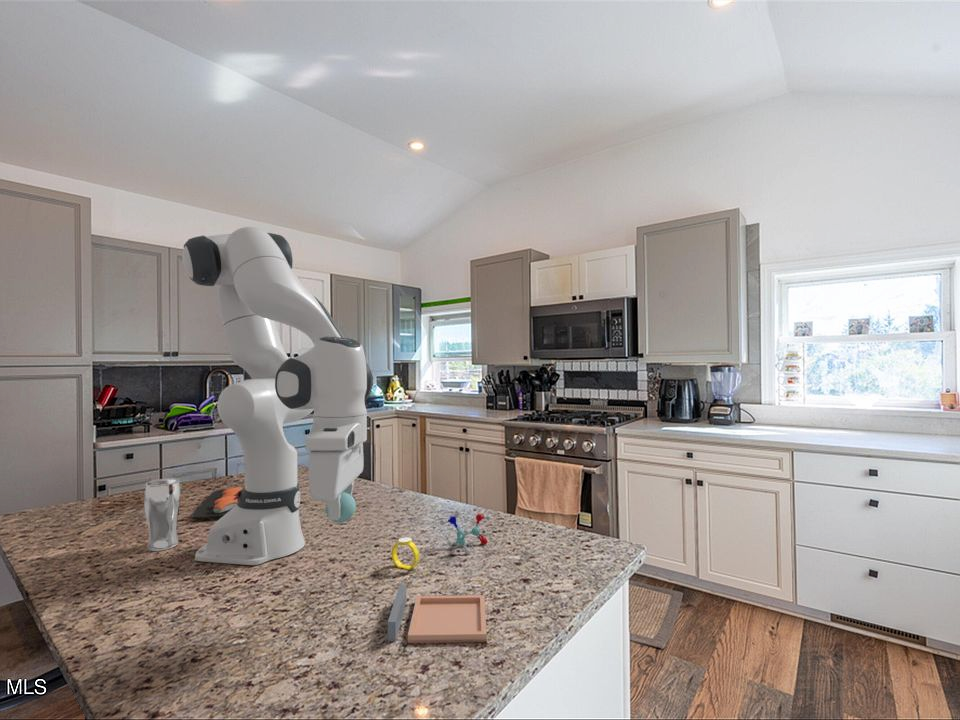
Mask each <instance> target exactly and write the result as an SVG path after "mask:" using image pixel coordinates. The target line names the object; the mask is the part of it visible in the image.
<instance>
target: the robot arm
mask: <svg viewBox="0 0 960 720" xmlns="http://www.w3.org/2000/svg"><path fill="white" fill-rule="evenodd" d="M181 260H182V265H183V268H184V269H183V270H185V273H186V274H187V275H188V276H189V279H190V281H192V282H193V283H195V284H196V285H198V286H204V287H214V286H218V288H217V295H216V297H217V305H218V306H217V307H218V314H219V317H220V323H221V327H222V330H223V333H224V338H225V341H226V346H227V348H228V349H227V350H228V351H229V356H230V358H231V360H232V361H233V362H234V364H236V365H237V366H238V367H240V368H242V369H243V370H244V371H245V372H246V374H248V375H249V377H250V378H249V379H244V380H241V381H238V382H235V383H233V384H230V385H228V386H227V387H225V388H224V389H223V390H222V391H221V393H220V394H219V396H218V400H217V407H216V408H217V409H216V410H217V413H218V416H219V418H220V420H221V422H223V423H222V424H224V425H225V426H226V427H228V428H229V429H230V430H232V431H233V432H234V434H235V436H236V438H237V439H238V441H239V444H240V446H241V449H242V455H243V459H244V460H243V462H244V486H243V487H242V488H243V489H242V490H240V491H238V492H237V494H235V495H233V496H235V497H234V499H233V500H236V499H237V502H238V503H237V506H235V507H234V508H233V509H231V510H230V511H229V512H228V513H226V514H225V515H224V516H223V517H219V519H218V520H217V521H215V522H214V524H213V525H212V526H211V527H210V530H209V532H208V535H207V541H206V543H204V544H203V545H202V546H200V547H199V548H198V550H196V552H195V554H194V560H195V561H197V562H205V563H206V562H207V563H219V564H220V563H221V564H233V565H244V566H245V565H247V566H258V565H261V564H263V563H266V562H269V561H272V560H276V559H279V558H284V557H287V556H289V555H292V554H295V553H296V552H298V551H300V550H302V549H303V548H304V546H305V545H306V541H305V537H304V534H303V531H302V525H301V519H300V511H299V509H300V504H301V503H300V501H301V492H300V491H301V490H300V484H299V482H298V451H297V449H296V447H295V446H293V445H292V444H291V443H289V442H288V440H287V438H286V436H285V433H284V428H283V425H286V424H291V423H295V422H298V421H300V420H301V419H303V418H306V417H307V416H309V415H310V414H311V413H313V416H312V425H311V426H312V427H311V429H310V431H309V433H308V434H307V435H306V437H305V442H304V444H305V445H304V448H305V451H308V452H309V453H308V463H307V464H308V484H309V485H308V486H309V493H310V497H311V498H312V501H314V502H325V505H326V504H327V507H328V516H327V517H328V519H329V520H330V521H332V520H338V519H339V518H340V517H341V515H342V506H340V498H341V493H342V492H345V493H348V494H350V495H351V496H352V497H353V491H354V486H355V480H356V479H357V478H358V477H359V476H360V474H362V473H363V472H364V464H365V463H364V461H365V460H364V459H365V458H364V443H365V442H366V441H367V439H368V426H367V425H368V423H367V422H368V421H367V418H368V410H367V408H366V401H367V400H368V397H369V396H370V395H371V392H372V390H373V386H374V377H373V372H372V370H371V368H370V366H369V364H368V363H367V360H366V355H365V351H364V347H363V345H362V343H360V342H359V341H357V340H355V339H353V338H348V337H346V336H345V335H344V334H343V332H342V331H341V329H340V328H339V326H338V324H337V322H335V320H334V318H333V317H332V315H331V314H330V312H329V311H328V309H327V308H326V307H325V305H323V303H322V302H321V301H320V300H319V299H318V298H317V297H315V295H313V294H312V292H310V291H309V290H308V289H307V288H306V287H305V286H304V284H303V283H301V281H300V280H299V279H298V278H297V276H296V275H295V273H294V272H293V270H292V269H293V253H292V249H291V246H290V244H289V242H288V240H287V239H286V238H285V237H284V236H282V235H281V234H277V233H271V232H267V231H265V230H263V229H261V228H259V227H256V226H255V227H254V226H245V227H240V228H238V229H236V230H234V231H233V232H231V233H227V234H224V233H223V234H216V235H210V236H206V235H200V236H195V237H191V238H189V239H188V240H187V241H186V242H185V243H184V244H183V249H182V254H181ZM276 322H278V323H280V324H282V325H283V324H284V325H286V326H289V327H292V328H294V329H296V330H298V331H301V332H302V333H303V334H305V335H306V336H307V337H308V338H309V339H310V340H311V342H312V343H313V347H311V348H310V349H308V350H307V351H305V352H304V353H302V354H300V355H298V356H295V357H291V358H289V356H288V354H287V352H286V351H285V348H284V345H283V343H282V340H281V337H280V334H279V331H278V328H277V325H276Z"/></svg>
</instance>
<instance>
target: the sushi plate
mask: <svg viewBox="0 0 960 720" xmlns="http://www.w3.org/2000/svg"><path fill="white" fill-rule="evenodd" d="M242 489H243V487H239V486H238V487H237V486H236V487H230V488H224V489H223V488H222V489H217V490H214V491H213V492H212V493H210V495H209V496H208V497H207V498H206V499H205V500H204V501H203V502H202V504H200V506H199V507H198V508H197V509H196V510H195V511H194V513H192V518H194V519H217V518H219V519H220V518H222V517H223V516H224V515H225V514H226V513H228V512H229V511H230V510H231V509H233V508H234V507H235V506H237V503H238V502H237V499H236V500H233V499H234V497H235V496H233V495H235V494H237V492H238V491H240V490H242ZM302 503H306V502H303V501H301V500H300V504H302Z"/></svg>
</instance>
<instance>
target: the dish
mask: <svg viewBox="0 0 960 720" xmlns="http://www.w3.org/2000/svg"><path fill="white" fill-rule="evenodd" d="M485 597H486V596H485V594H484V595H483V594H482V595H481V594H477V595H476V594H475V595H474V594H472V595H471V594H470V595H469V594H466V595H464V594H463V595H416V598H415V602H414V607H413V611H412V616H411V620H410V624H409V627H408V632H407V644H439V643H441V644H442V643H445V644H446V643H448V644H449V643H452V644H453V643H487V642H488V641H487V638H488V637H487V636H488V634H487V631H488V630H487V615H486V602H485V601H486V599H485Z"/></svg>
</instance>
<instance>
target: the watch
mask: <svg viewBox="0 0 960 720" xmlns="http://www.w3.org/2000/svg"><path fill="white" fill-rule="evenodd" d="M399 546H408V547H409V548H410V549H411V551H412V553H413V558H414V561H413V562H412V565H408V564H405V563H402V562H401V561H400V559H399V557H398V554H397V553H398V552H397V551H398V550H397V549H398V547H399ZM391 558H392V561H393V563H394V565H395V566H396V567H397V568H398V569H402V568H403V570H408V571H411V570H412V569H413V568H415V567H416V566H417V565H418V563H419V560H420V551H419V549H418V547H417V545H416V544H415V543H414V542H413V540H412V537H407V536H406V537H405V536H404V537H400V538H398V540H397V542H395V543H394V544H393V546H392V549H391Z"/></svg>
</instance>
